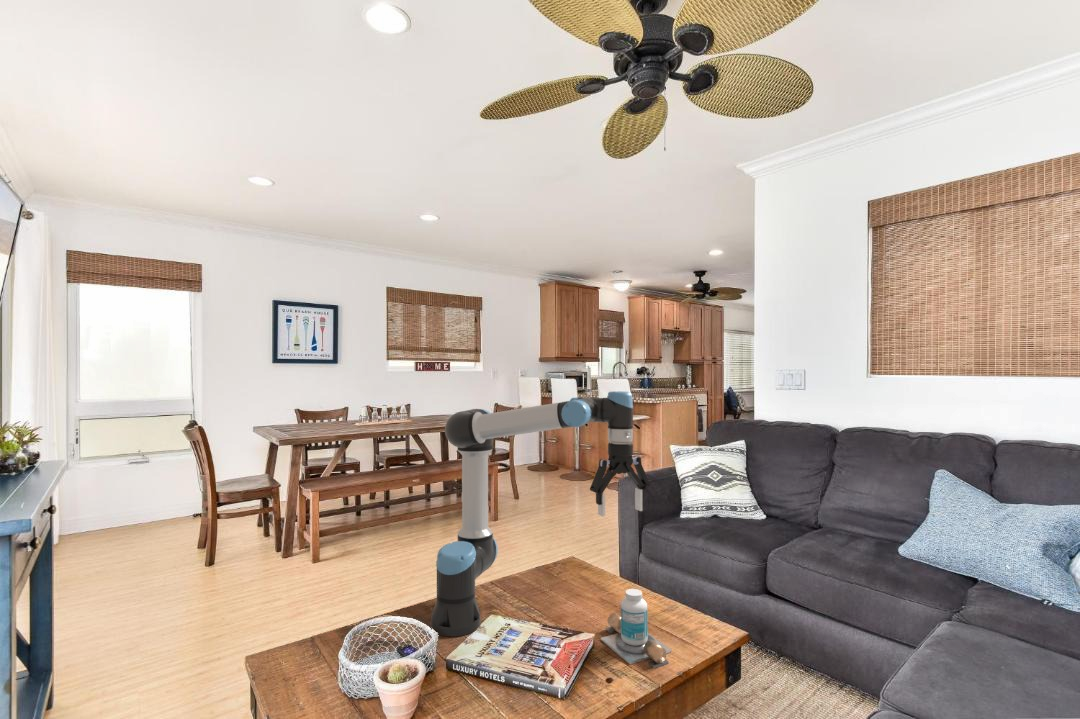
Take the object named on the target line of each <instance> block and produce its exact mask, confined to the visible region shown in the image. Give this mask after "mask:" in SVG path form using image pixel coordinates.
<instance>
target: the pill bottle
mask: <svg viewBox="0 0 1080 719" xmlns="http://www.w3.org/2000/svg"><path fill="white" fill-rule="evenodd" d="M620 617H621V638H622V640H623V641H624V642H625V643H627V644H629V645H633V646H640V645H643V644H645V643H646V642H647V639H648V633H649V632H648V603H647V601H646V600H645V599H644V598H643V591H642V590H640V589H637V588H630V589H629V588H628V589H626V590H625V597H624V598H622V599H621V601H620Z"/></svg>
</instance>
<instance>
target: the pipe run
mask: <svg viewBox="0 0 1080 719" xmlns="http://www.w3.org/2000/svg"><path fill="white" fill-rule="evenodd" d="M607 625H608V626H609V627H605V631H606V632H608V634H609V635H607V636H602V637H600V641H601V642H603V643H604V644H605V646H607V647H609V648H610V649H611V650H612V651H613V652H614V653H615V654H617V655H618V656H619V657H620V658H622V659H623V660H624V661H625V663H627V664H628V665H632V664H636V663H639V662H643V661H646V660H647V665H649V666H650V667H651V668H652V669H655V668H660V667H662V666H665V665H668V664H669V661H668V659H666V658H667V654H668V653H672V649H671V648H669V647H668V646H667V645H665V644H664V643H662V642H661V641H660V640H658V639H657V638H656V637H655V636H653V635H652V634H650V633H649V632H648V639H647V642H646V643H645V644H643V645H640V646H633V645H629V644H627V643H625V642H624V641H623V640H622V638H621V615H619V614H618V613H616V612H612V613H610V614H609V616H608V618H607ZM613 633H614V634H613ZM649 659H651V660H649Z"/></svg>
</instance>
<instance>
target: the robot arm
mask: <svg viewBox="0 0 1080 719" xmlns="http://www.w3.org/2000/svg"><path fill="white" fill-rule="evenodd" d="M633 404H634V403H633V394H632V393H631V392H630V391H609V392H608V393H607V397H585V396H579V397H571V398H570V400H566V401H561V402H555V403H554V402H552V403H549V404H541V405H536V406H530V407H529V406H528V407H522V408H517V409H511V410H503V411H497V412H490V411H489V410H487V409H483V408H472V409H468V410H462V411H461V410H460V411H458V412H455V413H453V414H452V415H451V416H450V417H449V418H448V419H447V421H446V423H445V428H444V434H445V437H446V439H447V441H448V442H449V443H450V444H451V445H452V446H454V447H456V448H457V452H458V453H460V455H461V458H462V459H461V463H462V464H461V475H462V476H461V492H462V494H461V496H462V497H461V499H462V501H461V502H462V503H461V505H462V506H461V510H462V512H461V513H462V514H461V515H462V517H461V521H462V522H461V524H462V525H461V526H462V527H461V528H460V529H459V530H458V531H457V541H452V542H449V543H447V544H444V545H443V546H442V547H440V549H439V550H438V552H437V553H436V554H437V555H436V562H435V564H436V565H435V566H436V601H435V604H434V607H433V609H432V613H431V616H430V628H431V627H432V628H433V629H434V630H435V631H436V632H438V633H439V634H438V635H439V636H443V637H452V638H453V637H461V636H465V635H469V634H471V633H474V632H475V631H477V630H478V629H479V628H480V626H481V622H482V619H481V618H482V616H481V613H480V609H479V606H478V603H477V599H476V580H477V579H478V578H479V577H480V576H481V575H482V574H483V573H485V572H486V571H487V570H489V568H491V567H492V565H493V564H494V562H495V561H496V559H497V557H498V556H497V555H498V552H499V551H498V550H499V549H498V548H499V547H498V543H497V541H496V539H495V538H494V532H493V529H492V528H491V527H489V454H490V453H491V452H492V451H493V445H494V444H493V439H497V438H503V437H511V436H517V435H524V434H531V433H537V432H545V431H551V430H552V431H553V430H558V429H559V430H560V429H566V428H581V427H583V426H585V425H586V424H588V423H607V441H608V443H607V455H608V459H602V458H600V459H599V462H598V467H597V469H596V472H595V475H594V478H593V480H592V483H591V485H590V487H589V491H591V492H593V493H595V503H596V504H597V515H598V516H601V517H606V494H605V493H604V492H605V490H606V488H607V487H608V486H609V484H610V482H611V481H612V479H613V478H614V477H615V476H616V475H621V474H627V475H628V476H629V478H630V479H631V480H632V482H633V483H634V485H635V486H636V487H635V488H634V509H635V510H636V511H639V512H643V500H644V499H645V490H647V487H650V485H651V483H650V481H649V479H648V476H647V474H646V471H645V470H644V467H643V465H642V457H640V456H636V455H635V456H633V455H634V444H633V443H632V442H633V440H634V437H633V436H634V430H633V429H634V405H633ZM632 465H633V467H634V468H633V467H632ZM607 467H608V468H607ZM634 469H635V470H634ZM635 471H636V472H635ZM478 627H479V628H478ZM477 628H478V629H477Z"/></svg>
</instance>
